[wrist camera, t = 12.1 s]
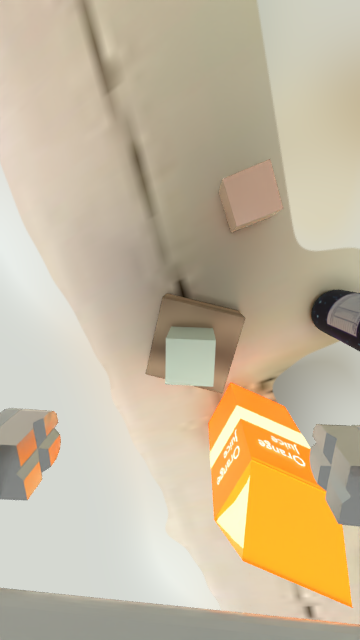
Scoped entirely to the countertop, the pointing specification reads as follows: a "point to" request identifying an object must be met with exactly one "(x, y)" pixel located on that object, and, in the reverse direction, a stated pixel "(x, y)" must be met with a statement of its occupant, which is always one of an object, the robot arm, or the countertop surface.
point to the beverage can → (339, 316)
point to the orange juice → (273, 495)
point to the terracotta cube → (250, 196)
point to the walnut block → (201, 316)
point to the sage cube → (190, 356)
